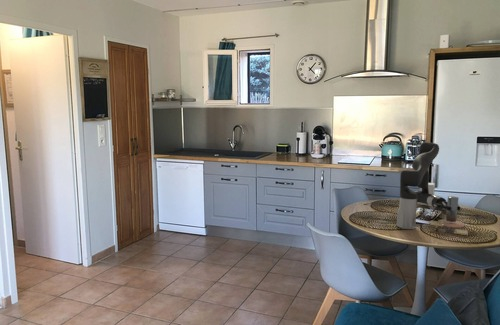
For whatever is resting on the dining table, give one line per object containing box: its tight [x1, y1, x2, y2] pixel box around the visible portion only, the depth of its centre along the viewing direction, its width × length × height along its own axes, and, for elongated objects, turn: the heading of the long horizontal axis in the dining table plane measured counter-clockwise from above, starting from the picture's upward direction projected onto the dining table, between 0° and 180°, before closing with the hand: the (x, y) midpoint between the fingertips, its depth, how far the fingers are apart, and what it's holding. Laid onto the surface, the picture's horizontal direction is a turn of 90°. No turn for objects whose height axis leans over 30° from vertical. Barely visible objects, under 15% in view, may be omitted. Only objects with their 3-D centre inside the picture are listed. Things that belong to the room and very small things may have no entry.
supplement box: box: [418, 182, 436, 207], centre depth 290 cm, size 9×9×15 cm
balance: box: [428, 220, 469, 238], centre depth 224 cm, size 19×7×5 cm, turn 62°
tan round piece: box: [438, 218, 465, 229], centre depth 240 cm, size 14×14×1 cm
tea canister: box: [445, 195, 459, 222], centre depth 239 cm, size 6×6×14 cm
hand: (455, 208), depth 237 cm, fingers closed on tea canister, 5 cm apart
